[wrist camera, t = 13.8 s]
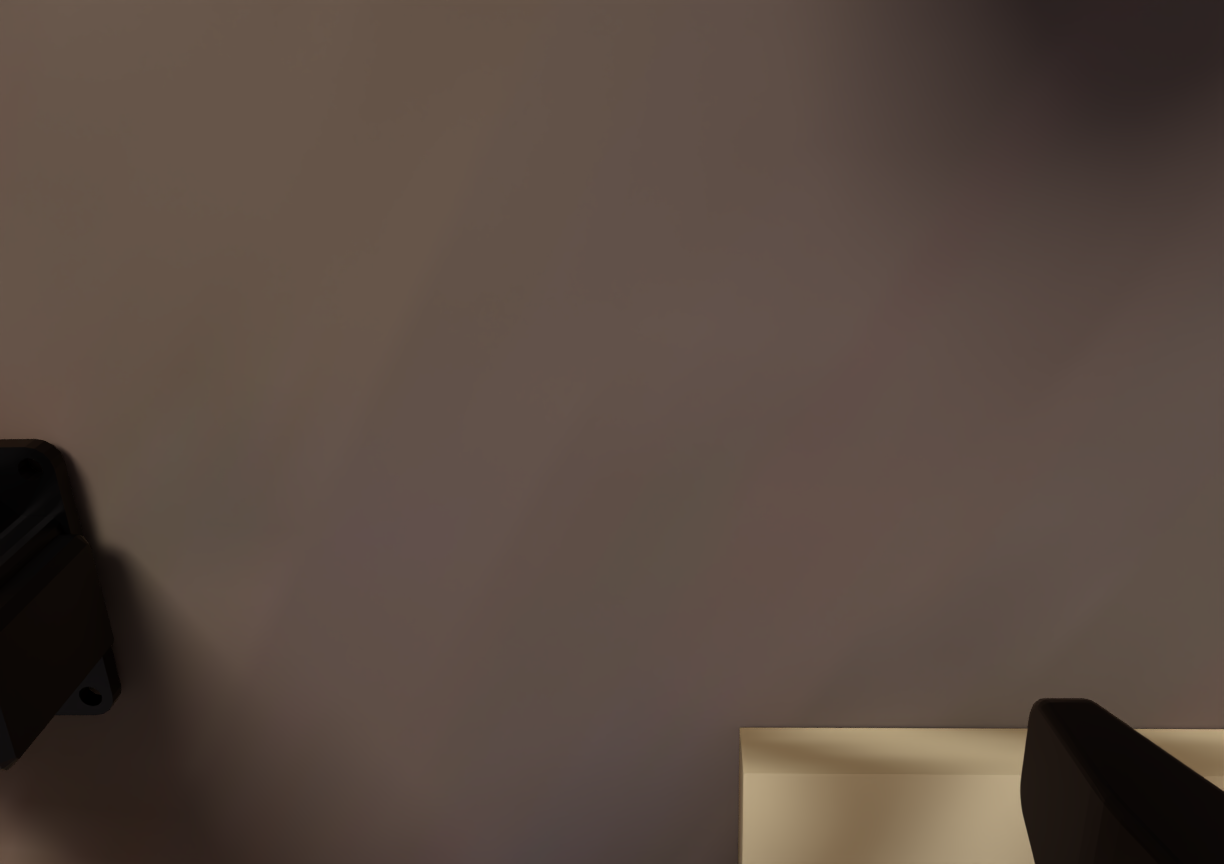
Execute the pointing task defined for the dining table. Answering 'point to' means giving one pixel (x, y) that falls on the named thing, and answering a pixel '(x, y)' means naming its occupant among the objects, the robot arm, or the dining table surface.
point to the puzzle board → (902, 793)
